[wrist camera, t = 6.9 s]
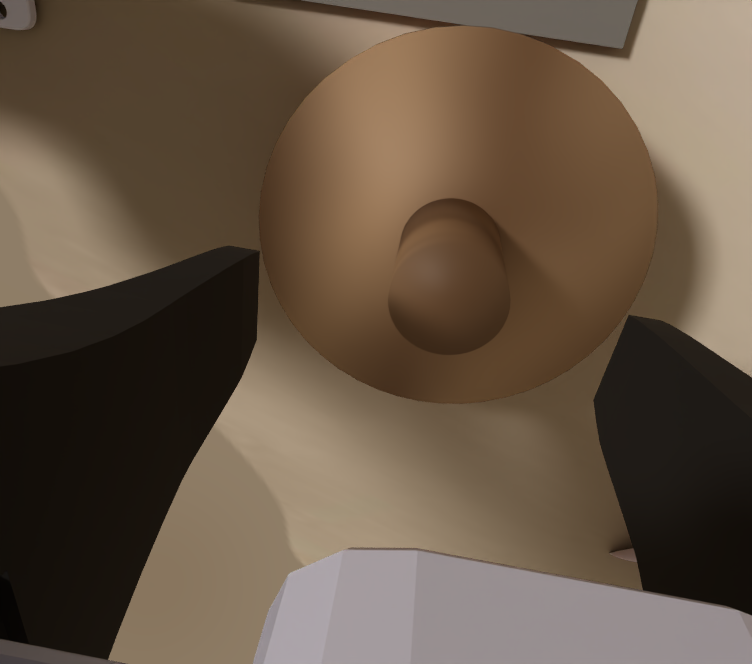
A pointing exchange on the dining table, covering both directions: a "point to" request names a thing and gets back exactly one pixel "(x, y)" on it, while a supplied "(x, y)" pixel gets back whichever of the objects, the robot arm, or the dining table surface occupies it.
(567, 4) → the mat
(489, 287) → the lid
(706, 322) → the dining table surface
